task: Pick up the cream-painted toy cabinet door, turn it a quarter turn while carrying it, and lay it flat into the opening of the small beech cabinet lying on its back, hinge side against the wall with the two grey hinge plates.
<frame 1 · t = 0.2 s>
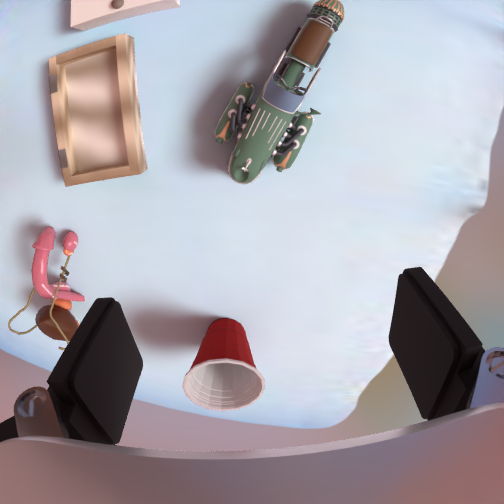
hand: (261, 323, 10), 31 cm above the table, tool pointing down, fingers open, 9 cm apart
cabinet: (100, 110, 34), on the table
hoverbike: (284, 85, 34), on the table
plastic cup: (228, 331, 50), on the table
anatomy model: (66, 272, 45), on the table
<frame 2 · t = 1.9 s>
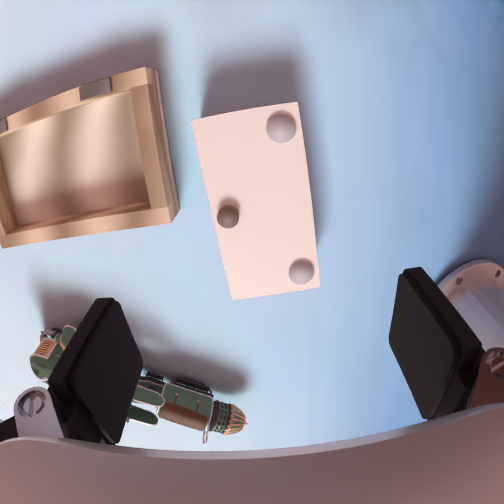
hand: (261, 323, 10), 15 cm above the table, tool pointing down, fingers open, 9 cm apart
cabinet: (71, 162, 23), on the table
hoverbike: (143, 369, 33), on the table
door: (260, 193, 24), on the table
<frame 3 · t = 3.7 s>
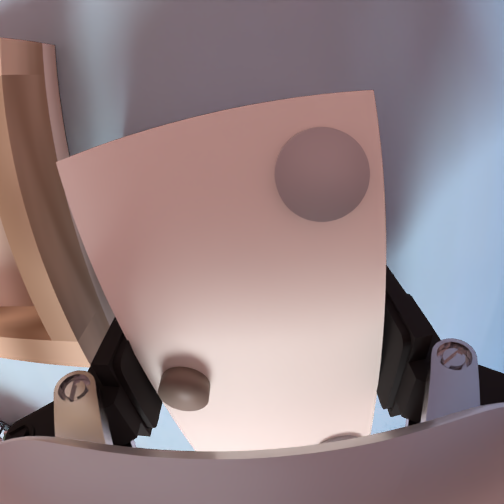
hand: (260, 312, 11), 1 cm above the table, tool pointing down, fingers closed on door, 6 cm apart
door: (260, 294, 12), on the table, touching gripper
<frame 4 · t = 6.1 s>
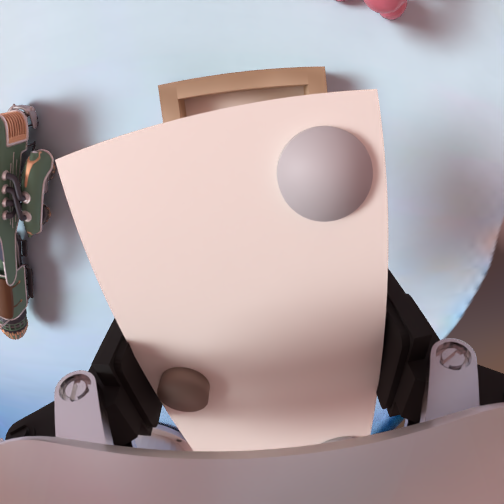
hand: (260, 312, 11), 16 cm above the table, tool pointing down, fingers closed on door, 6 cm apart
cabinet: (254, 187, 25), on the table
hoverbike: (22, 227, 26), on the table
door: (259, 294, 12), point 15 cm above the table, touching gripper
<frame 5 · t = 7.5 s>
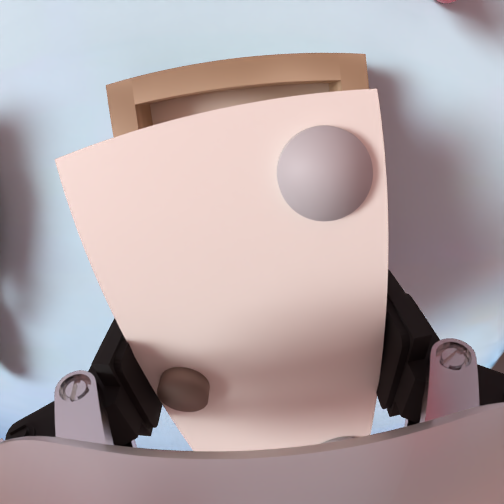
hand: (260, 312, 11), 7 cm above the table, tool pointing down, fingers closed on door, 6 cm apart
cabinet: (255, 231, 17), on the table
door: (259, 294, 12), point 6 cm above the table, touching gripper
when the fingers open (4 cm above the table, at t = 8.7 s): door drops 2 cm, resting on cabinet.
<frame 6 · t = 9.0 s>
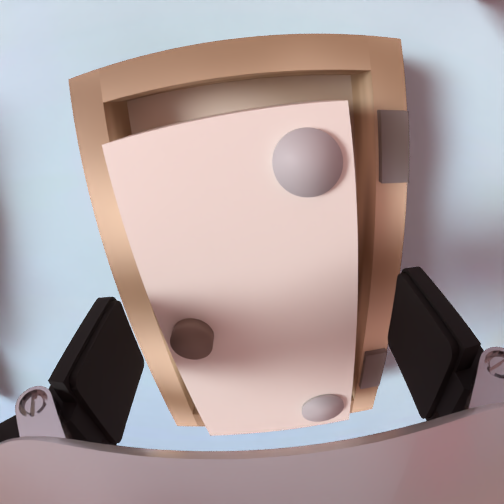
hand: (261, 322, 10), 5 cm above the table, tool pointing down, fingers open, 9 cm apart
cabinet: (257, 255, 14), on the table
door: (256, 267, 14), point 1 cm above the table, touching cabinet
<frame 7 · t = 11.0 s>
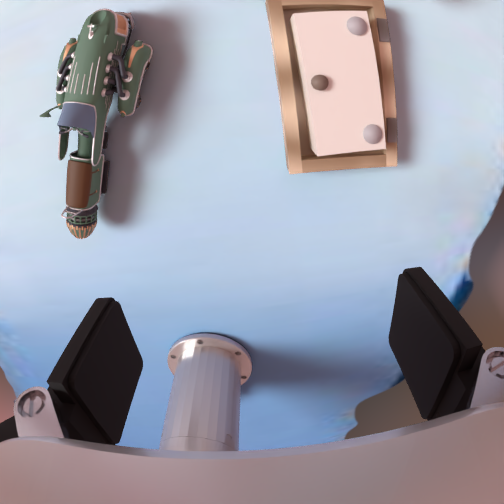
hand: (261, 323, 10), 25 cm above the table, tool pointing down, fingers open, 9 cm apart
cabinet: (331, 79, 28), on the table
hoverbike: (102, 124, 30), on the table
door: (333, 81, 27), point 1 cm above the table, touching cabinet
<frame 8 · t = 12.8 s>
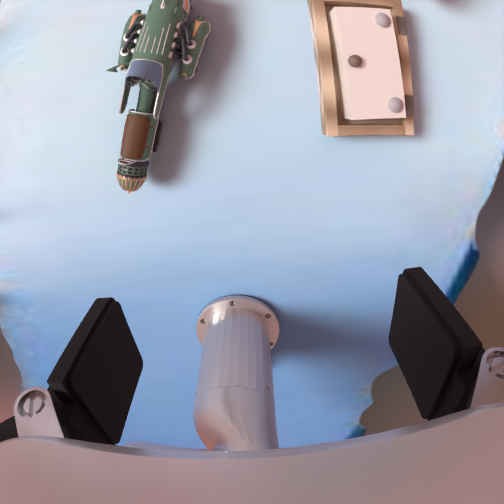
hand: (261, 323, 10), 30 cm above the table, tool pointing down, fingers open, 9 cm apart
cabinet: (359, 64, 32), on the table
hoverbike: (156, 89, 34), on the table
door: (361, 64, 31), point 1 cm above the table, touching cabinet
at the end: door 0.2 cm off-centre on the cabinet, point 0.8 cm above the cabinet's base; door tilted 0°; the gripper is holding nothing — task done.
